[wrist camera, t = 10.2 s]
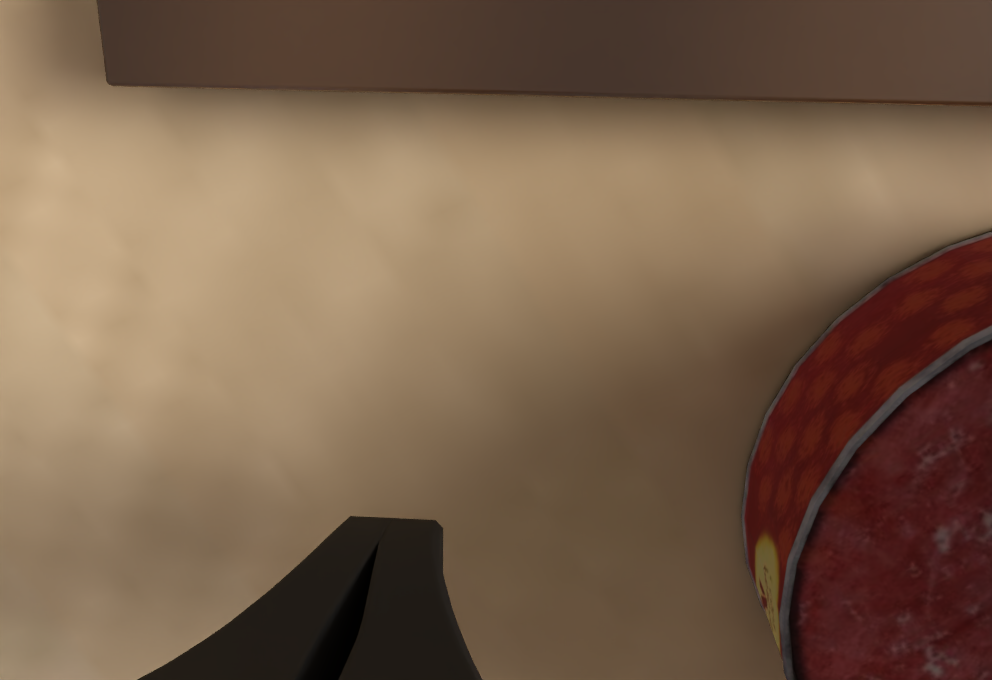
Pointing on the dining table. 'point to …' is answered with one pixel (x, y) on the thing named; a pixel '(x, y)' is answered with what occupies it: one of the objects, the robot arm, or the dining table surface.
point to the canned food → (883, 484)
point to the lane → (562, 48)
